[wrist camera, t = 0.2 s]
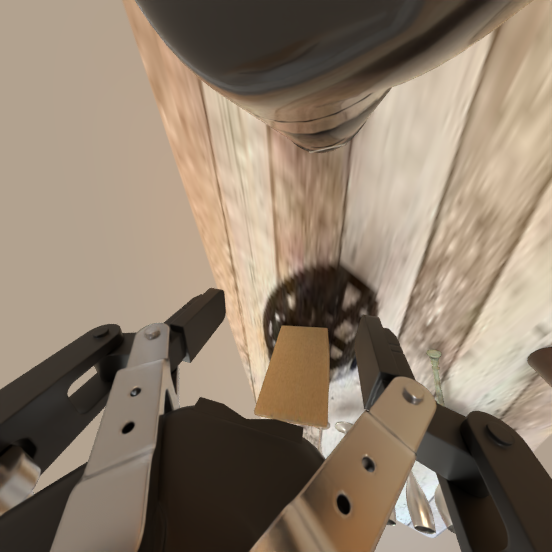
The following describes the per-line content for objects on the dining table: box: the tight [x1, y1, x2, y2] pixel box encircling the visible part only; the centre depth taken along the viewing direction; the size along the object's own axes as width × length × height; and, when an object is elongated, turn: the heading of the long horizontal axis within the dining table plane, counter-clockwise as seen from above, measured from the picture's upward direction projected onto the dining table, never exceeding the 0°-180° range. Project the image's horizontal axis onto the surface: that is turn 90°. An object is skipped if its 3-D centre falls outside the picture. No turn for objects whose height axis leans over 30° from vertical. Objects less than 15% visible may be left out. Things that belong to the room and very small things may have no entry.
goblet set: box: [314, 422, 456, 534], centre depth 39 cm, size 28×6×13 cm, turn 103°
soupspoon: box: [427, 350, 444, 406], centre depth 33 cm, size 22×3×7 cm
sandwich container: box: [254, 326, 330, 428], centre depth 31 cm, size 9×15×15 cm, turn 8°
